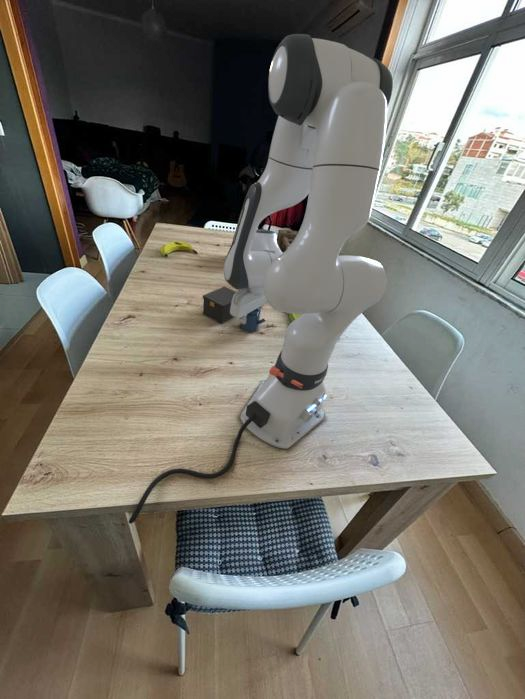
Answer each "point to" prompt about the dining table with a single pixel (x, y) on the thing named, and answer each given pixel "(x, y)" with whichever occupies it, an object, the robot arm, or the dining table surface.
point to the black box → (218, 304)
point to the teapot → (252, 321)
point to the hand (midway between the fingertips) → (250, 319)
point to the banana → (176, 247)
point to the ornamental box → (285, 239)
